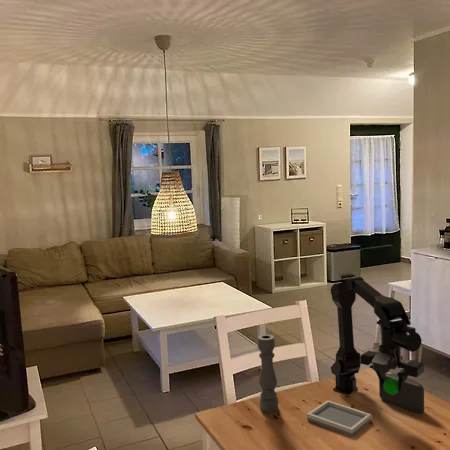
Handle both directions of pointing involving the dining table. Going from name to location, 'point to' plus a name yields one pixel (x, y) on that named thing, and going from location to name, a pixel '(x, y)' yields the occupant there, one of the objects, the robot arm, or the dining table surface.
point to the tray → (339, 418)
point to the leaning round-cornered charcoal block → (405, 394)
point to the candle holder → (267, 374)
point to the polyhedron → (391, 386)
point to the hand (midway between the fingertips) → (391, 389)
